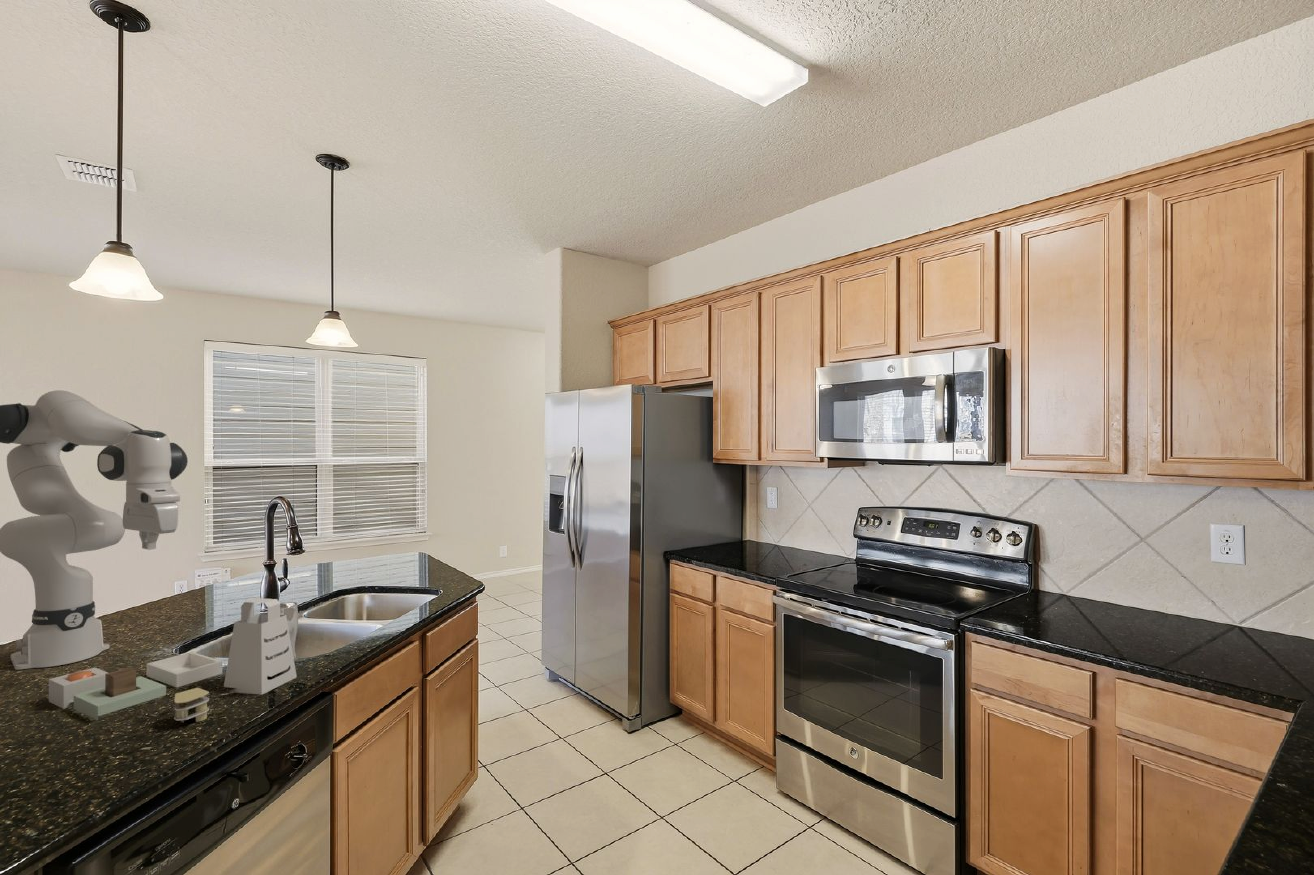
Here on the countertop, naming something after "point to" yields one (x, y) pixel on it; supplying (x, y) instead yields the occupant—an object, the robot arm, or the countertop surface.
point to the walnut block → (120, 682)
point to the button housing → (73, 687)
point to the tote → (184, 669)
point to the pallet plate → (117, 698)
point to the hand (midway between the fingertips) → (149, 549)
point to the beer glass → (290, 622)
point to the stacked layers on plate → (191, 705)
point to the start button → (79, 675)
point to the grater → (259, 650)
